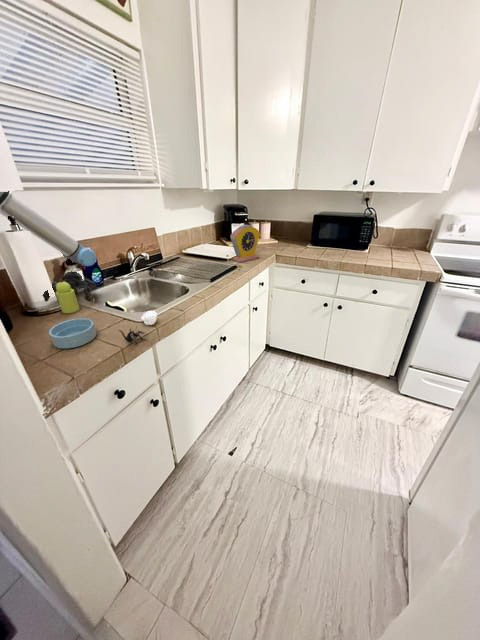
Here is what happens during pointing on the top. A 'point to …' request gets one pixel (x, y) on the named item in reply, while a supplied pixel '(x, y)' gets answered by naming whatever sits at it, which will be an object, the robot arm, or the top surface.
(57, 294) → the yellow-green bottle
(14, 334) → the top surface
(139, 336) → the creature
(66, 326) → the bowl
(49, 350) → the top surface
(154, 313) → the dumpling
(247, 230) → the yellow mantel clock
